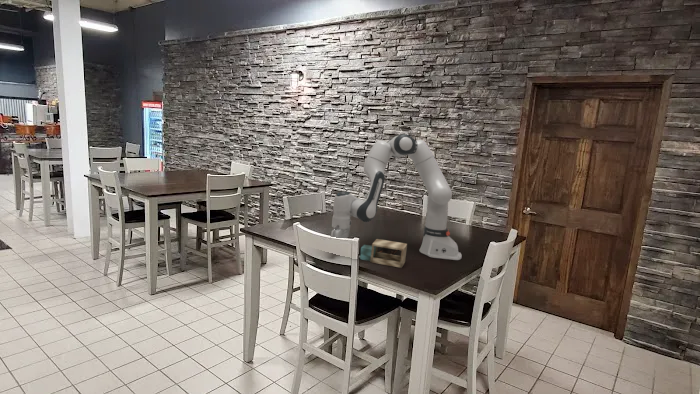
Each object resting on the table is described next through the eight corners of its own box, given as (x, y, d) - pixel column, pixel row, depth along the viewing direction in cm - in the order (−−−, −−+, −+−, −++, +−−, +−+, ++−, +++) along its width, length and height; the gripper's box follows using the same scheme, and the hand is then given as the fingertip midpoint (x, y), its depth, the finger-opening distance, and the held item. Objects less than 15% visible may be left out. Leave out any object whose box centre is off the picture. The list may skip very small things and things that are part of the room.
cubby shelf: (405, 261, 198) (407, 243, 196) (401, 267, 188) (403, 249, 187) (375, 256, 202) (376, 238, 200) (370, 262, 192) (372, 243, 191)
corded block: (374, 257, 200) (375, 246, 198) (371, 261, 194) (372, 249, 193) (339, 251, 205) (340, 240, 204) (335, 254, 199) (336, 243, 198)
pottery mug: (373, 255, 206) (375, 239, 208) (382, 259, 212) (384, 244, 215) (393, 255, 198) (395, 239, 201) (402, 259, 205) (404, 244, 208)
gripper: (340, 229, 188) (338, 256, 191) (352, 220, 208) (350, 245, 210) (327, 227, 190) (325, 254, 193) (340, 218, 209) (338, 243, 212)
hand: (338, 250), depth 202 cm, fingers closed on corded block, 4 cm apart
